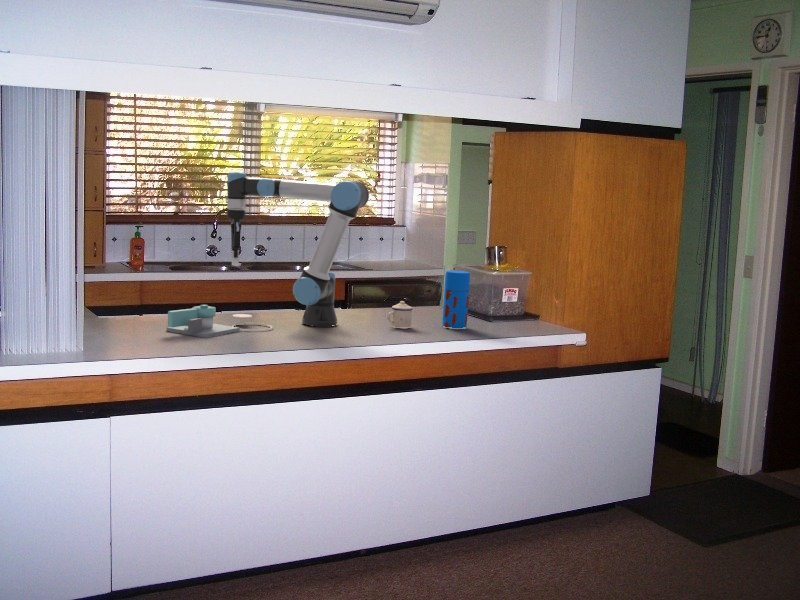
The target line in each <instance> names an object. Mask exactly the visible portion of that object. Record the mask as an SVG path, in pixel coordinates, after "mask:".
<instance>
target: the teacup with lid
mask: <svg viewBox="0 0 800 600" xmlns="http://www.w3.org/2000/svg"><path fill="white" fill-rule="evenodd" d="M412 312H413V307H412V306H410V305H408V304H407V303H405V300H404V301H403V300H400V301H399V303H396V304H395V305H392V306H391V311H390V312H388V313H387V317H386V318H387V320H388V322H389V323H390V324H391V325H392V326H395V327H410V326H411V327H412V316H413V314H412ZM390 317H391V318H390Z"/></svg>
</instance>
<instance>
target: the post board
mask: <svg viewBox="0 0 800 600" xmlns="http://www.w3.org/2000/svg"><path fill="white" fill-rule="evenodd" d="M213 322H214V317H197V318H196V319H190V320H188V325H187V326H179V327H168V326H167V327H166V332H168V331H170V332H169V333H174V332H175V333H176V334H180V333H181V334H182V335H186V336H192V337H199V338H205V339H207V338H212V337H218V336H222V335H221V334H224V335H226V334H225V333H229V334H231V333H230V332H234V333H237V332H236V331H239V332H241V331H240V329H241V327H240V326H235V327H232V325H231V326H230V325H225V324H220V323H213ZM217 335H218V336H217Z"/></svg>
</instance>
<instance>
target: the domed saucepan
mask: <svg viewBox="0 0 800 600" xmlns="http://www.w3.org/2000/svg"><path fill="white" fill-rule="evenodd" d="M216 314H217V313H216V307H215V306H210V305H208V304H200V305H197V306H196V305H195V306H193V307H192V308H186V309H178V310H177V309H176V310H168V311H167V327H179V326H187V325H188V320H190V319H196V318H197V317H213V318H214V317H216V316H217V315H216Z"/></svg>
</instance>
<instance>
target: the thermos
mask: <svg viewBox="0 0 800 600" xmlns="http://www.w3.org/2000/svg"><path fill="white" fill-rule="evenodd" d="M444 275H445V276H444V287H443V288H444V290H443V291H444V292H443V306H442V327H443V326H445V327H452V328H463V327H466V328H467V324H468V323H467V322H468V310H469V299H470V298H469V295H470V281H471V280H470V279H471V274H470V272H469V271H465V270H464V271H463V270H445V274H444Z"/></svg>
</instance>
